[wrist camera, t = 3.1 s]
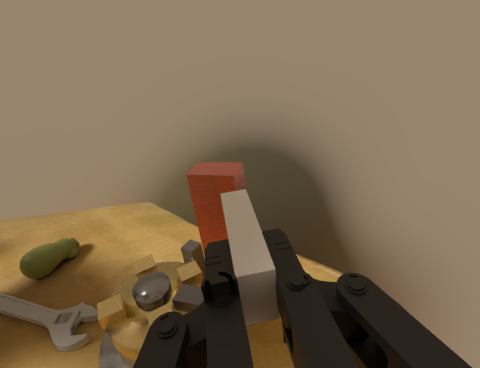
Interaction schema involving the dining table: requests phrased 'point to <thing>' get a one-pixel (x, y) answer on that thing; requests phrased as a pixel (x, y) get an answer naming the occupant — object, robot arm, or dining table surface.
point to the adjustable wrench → (52, 320)
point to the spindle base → (150, 299)
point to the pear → (47, 257)
